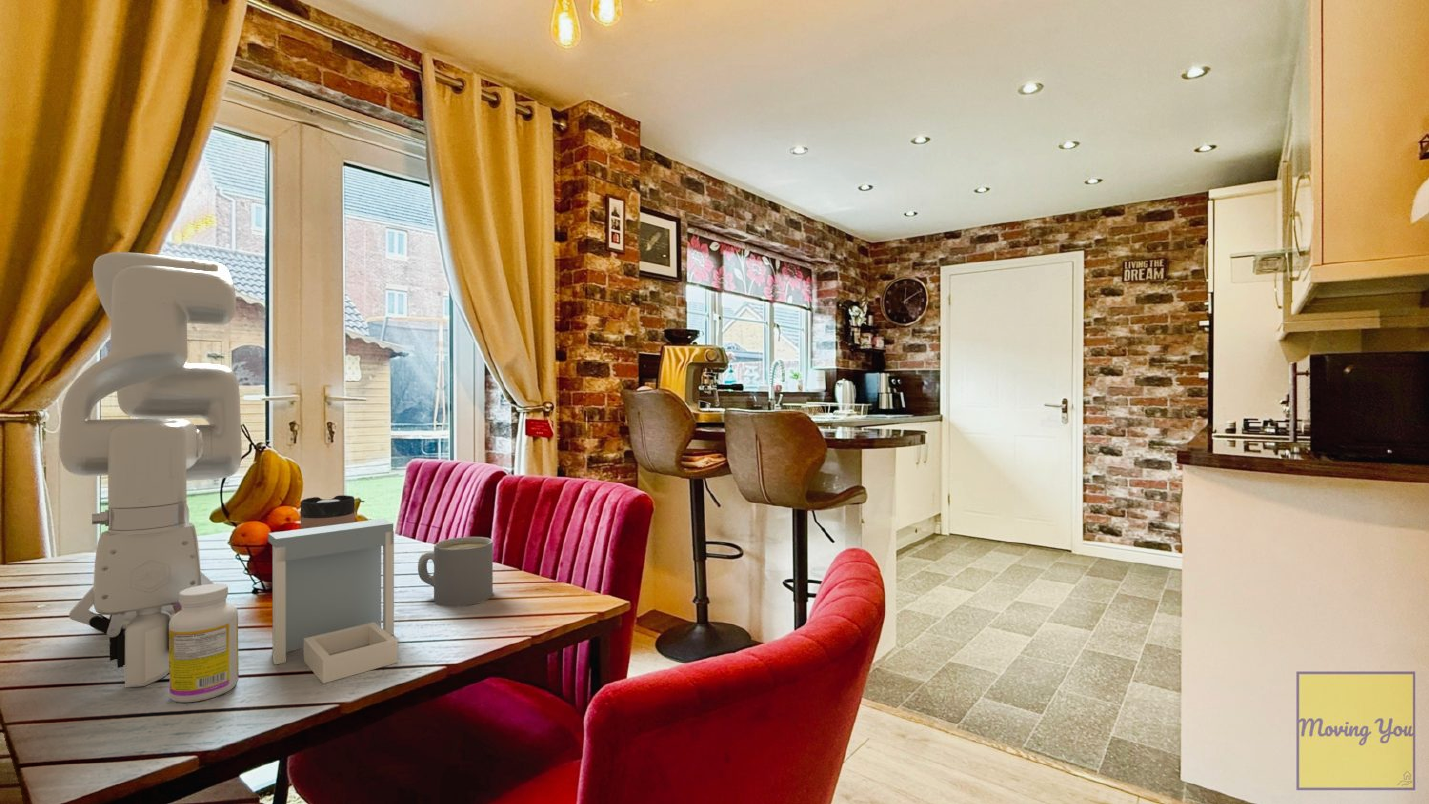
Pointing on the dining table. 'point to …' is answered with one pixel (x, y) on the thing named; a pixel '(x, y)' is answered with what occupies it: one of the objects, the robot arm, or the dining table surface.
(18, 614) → the dining table surface
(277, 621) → the roller blind
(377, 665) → the socket
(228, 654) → the supplement bottle
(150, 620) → the eye dropper bottle
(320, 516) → the travel mug
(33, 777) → the dining table surface
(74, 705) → the dining table surface
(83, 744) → the dining table surface
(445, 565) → the coffee mug
